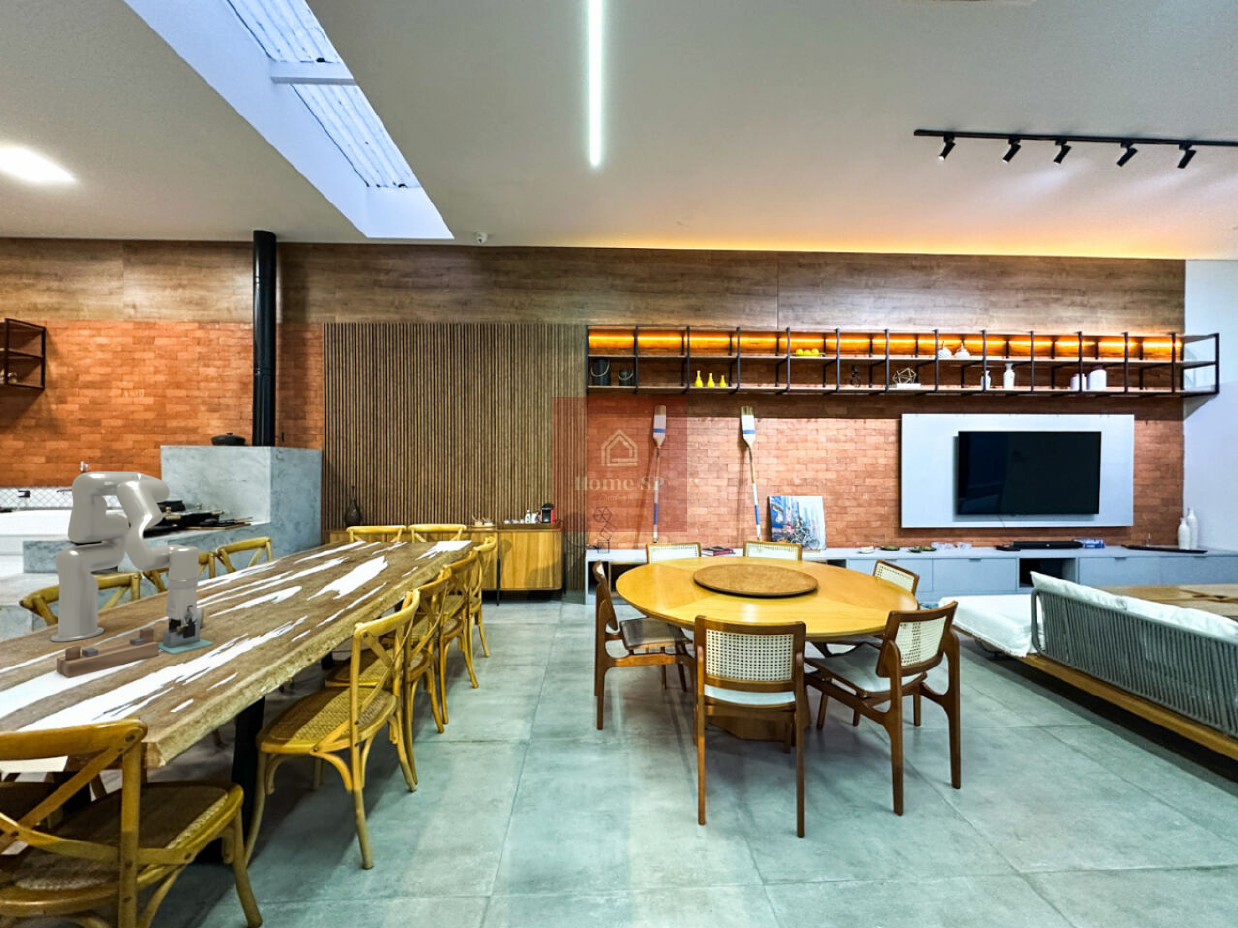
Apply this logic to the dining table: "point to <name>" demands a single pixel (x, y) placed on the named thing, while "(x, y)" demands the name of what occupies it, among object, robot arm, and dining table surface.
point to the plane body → (107, 655)
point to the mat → (185, 647)
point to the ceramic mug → (199, 618)
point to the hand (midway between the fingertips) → (181, 634)
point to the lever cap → (179, 637)
